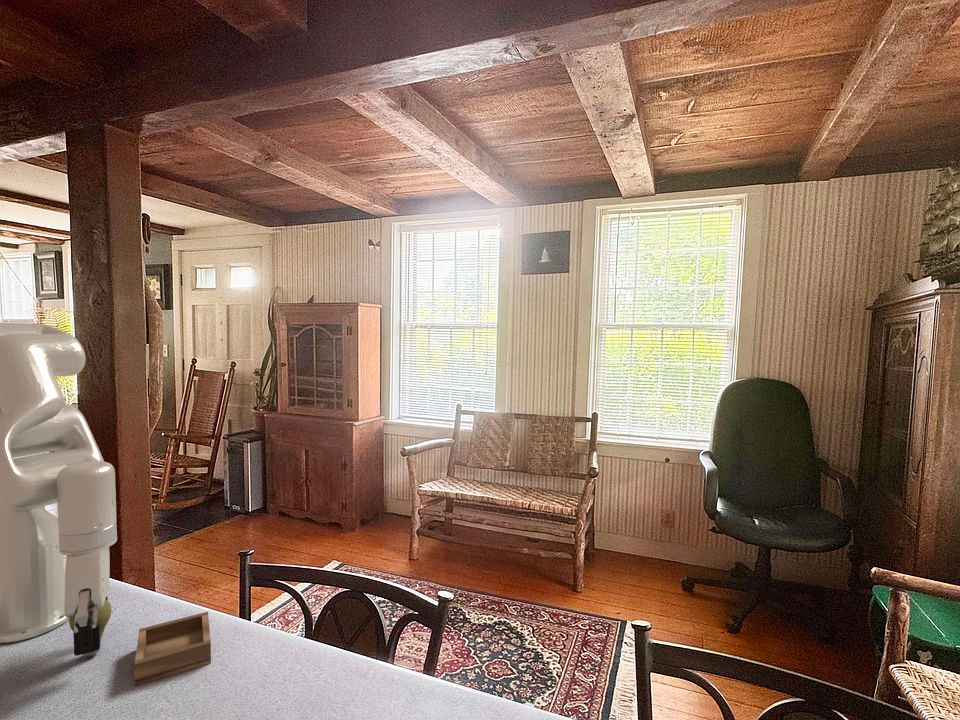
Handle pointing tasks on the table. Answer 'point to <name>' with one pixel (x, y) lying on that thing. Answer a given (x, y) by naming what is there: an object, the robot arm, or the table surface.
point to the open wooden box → (172, 648)
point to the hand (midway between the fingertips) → (92, 635)
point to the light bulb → (101, 620)
